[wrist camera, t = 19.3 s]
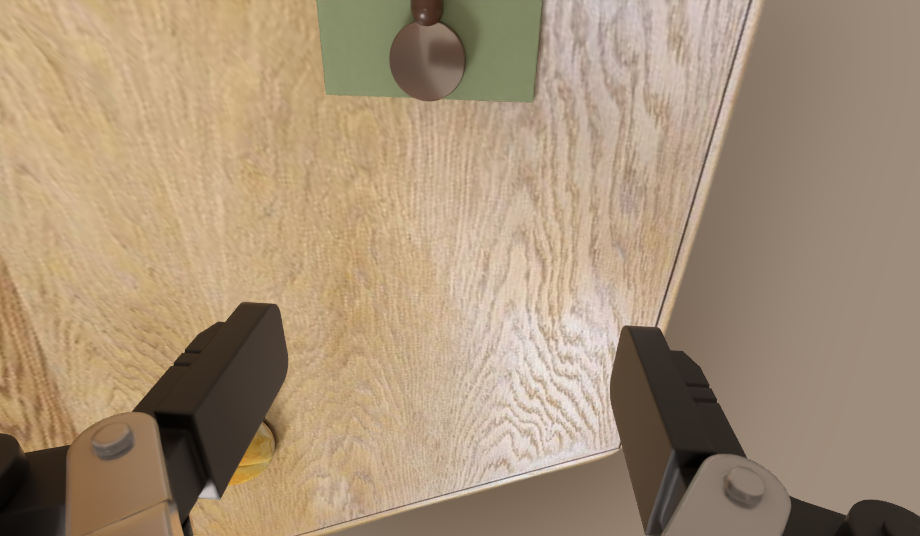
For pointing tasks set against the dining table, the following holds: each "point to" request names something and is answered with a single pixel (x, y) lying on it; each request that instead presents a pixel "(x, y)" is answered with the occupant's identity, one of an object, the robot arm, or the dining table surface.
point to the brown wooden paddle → (427, 54)
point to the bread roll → (255, 456)
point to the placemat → (465, 10)
